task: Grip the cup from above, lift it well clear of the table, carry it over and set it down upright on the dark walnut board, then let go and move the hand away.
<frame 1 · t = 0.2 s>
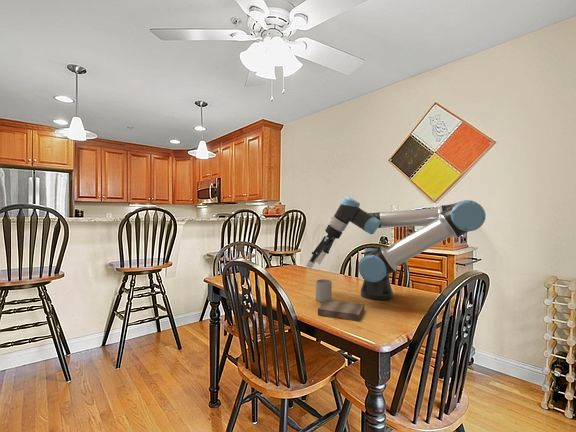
hand: (313, 265, 145), 15 cm above the table, tool tilted 30°, fingers open, 13 cm apart
cup: (323, 299, 141), on the table
board: (341, 312, 122), on the table
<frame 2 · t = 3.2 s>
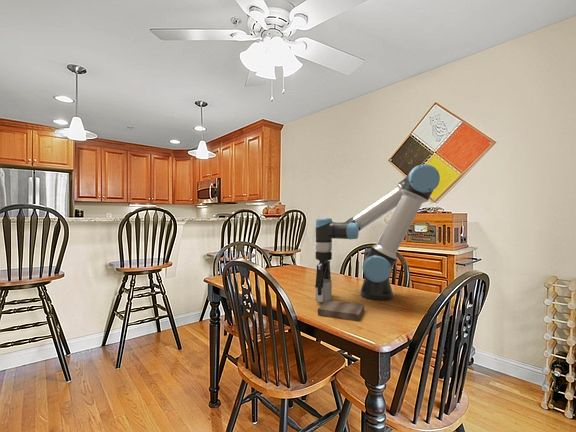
hand: (323, 298, 141), 0 cm above the table, tool pointing down, fingers closed on cup, 10 cm apart
cup: (323, 299, 141), on the table, touching gripper
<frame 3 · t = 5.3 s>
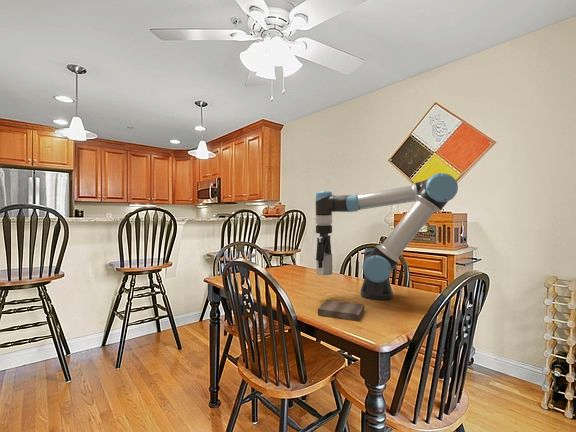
hand: (324, 272, 140), 12 cm above the table, tool pointing down, fingers closed on cup, 10 cm apart
cup: (324, 273, 140), point 12 cm above the table, touching gripper
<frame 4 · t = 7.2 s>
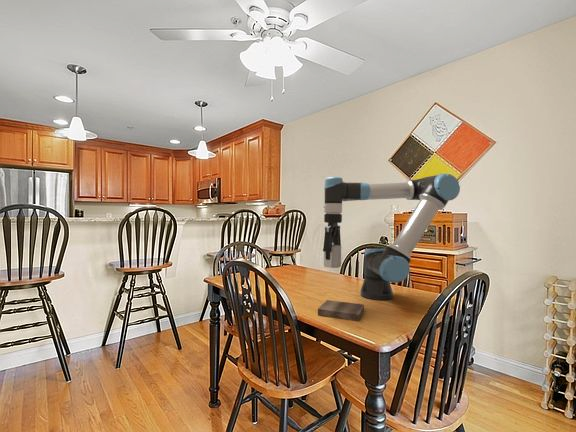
hand: (332, 265, 130), 18 cm above the table, tool pointing down, fingers closed on cup, 10 cm apart
cup: (332, 266, 130), point 17 cm above the table, touching gripper
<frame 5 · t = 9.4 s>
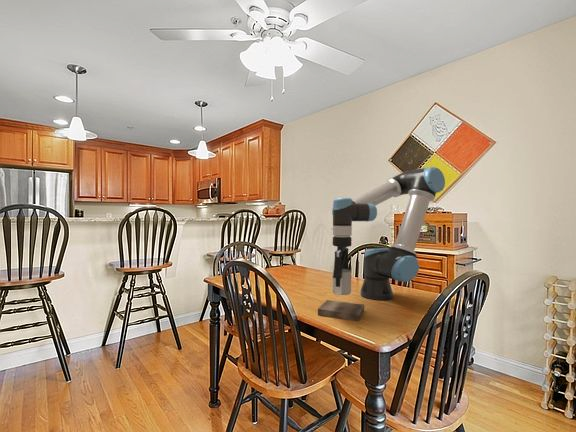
hand: (341, 291, 122), 9 cm above the table, tool pointing down, fingers closed on cup, 10 cm apart
cup: (341, 292, 122), point 8 cm above the table, touching gripper
when the fingers open (4 cm above the table, at t = 11.2 s): cup drops 1 cm, resting on board.
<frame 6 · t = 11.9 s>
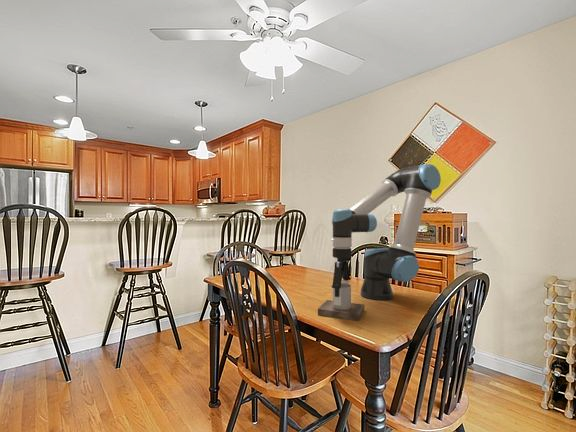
hand: (341, 300, 122), 5 cm above the table, tool pointing down, fingers open, 13 cm apart
cup: (341, 306, 122), point 2 cm above the table, touching board
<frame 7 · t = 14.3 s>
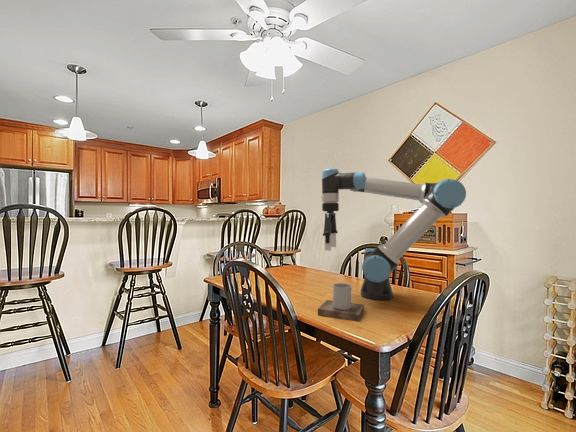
hand: (330, 248, 140), 24 cm above the table, tool pointing down, fingers open, 13 cm apart
nothing on the table moved.
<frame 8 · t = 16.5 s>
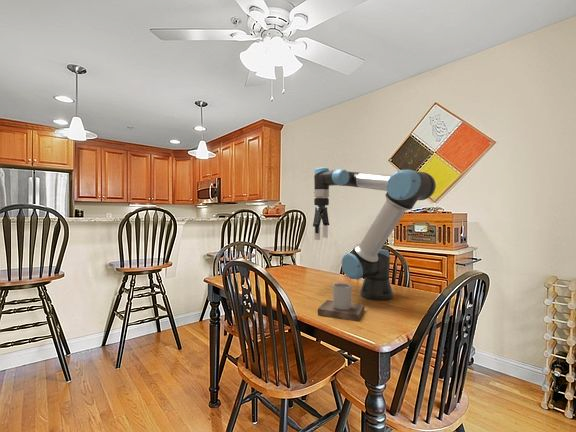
hand: (321, 238, 157), 27 cm above the table, tool pointing down, fingers open, 13 cm apart
nothing on the table moved.
at the end: cup inside the target area on the board (0.2 cm from its centre), point 2.3 cm above the board's base; cup tilted 0°; the gripper is holding nothing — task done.
